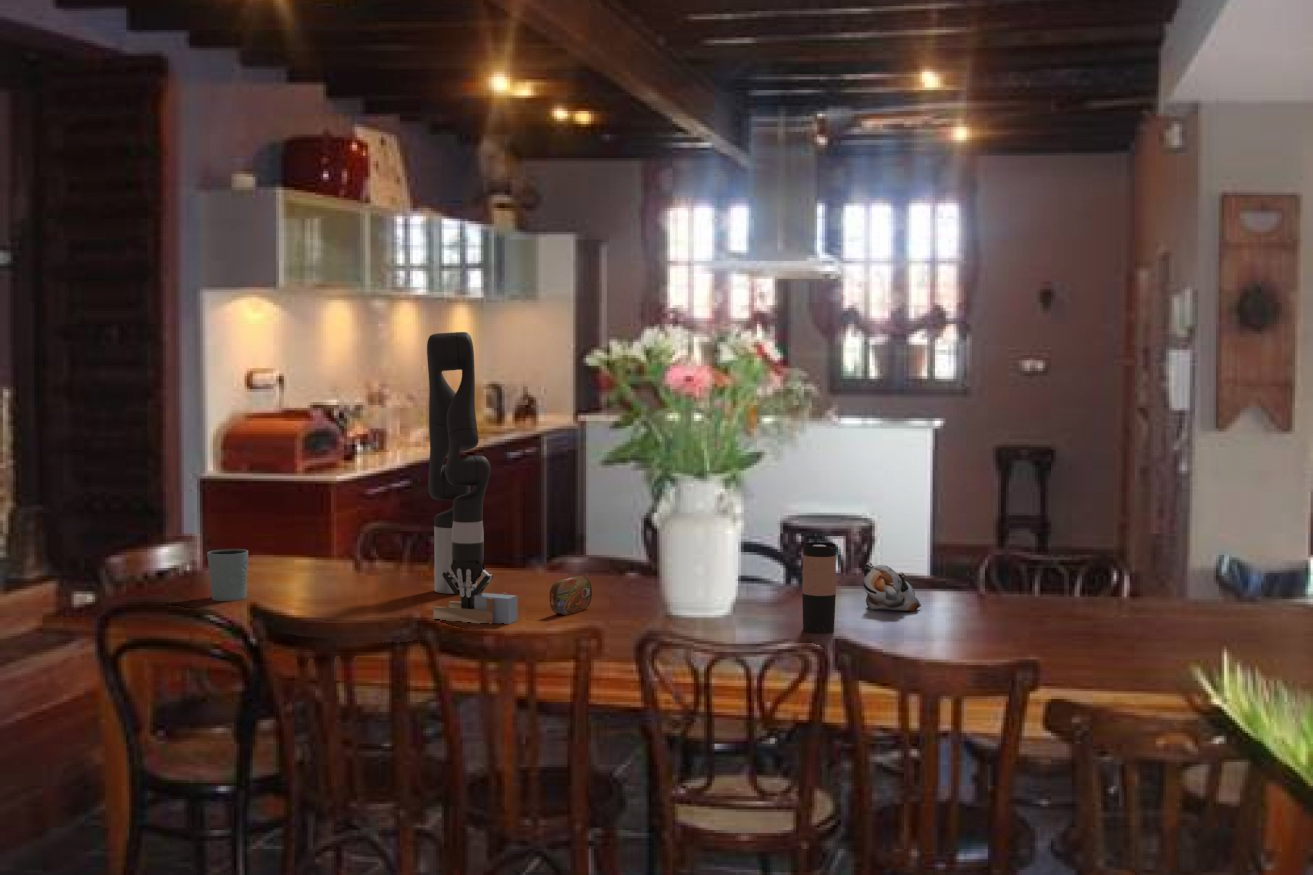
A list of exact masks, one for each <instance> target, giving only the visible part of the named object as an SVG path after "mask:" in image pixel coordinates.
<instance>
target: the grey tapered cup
mask: <svg viewBox="0 0 1313 875" xmlns="http://www.w3.org/2000/svg"><path fill="white" fill-rule="evenodd" d="M206 556H207V557H206V558H207V564H208V569H209V570H208V571H209V580H210V593H211V599H212V600H213V601H216V602H234V601H235V602H236V601H242V600H245V599H247V597H248V595H247V594H248V585H247V584H248V581H247V580H248V563H249V550H248V549H243V548H242V549H241V548H229V549H228V548H227V549H225V548H224V549H215V550H209V551H207V552H206Z"/></svg>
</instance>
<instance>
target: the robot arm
mask: <svg viewBox="0 0 1313 875" xmlns="http://www.w3.org/2000/svg"><path fill="white" fill-rule="evenodd" d="M426 355H427V356H426V358H427V371H428V382H429V384H428V386H429V398H428V400H429V403H428V404H429V405H428V430H429V433H428V434H429V464H428V465H429V466H428V476H427V477H428V480H427V481H428V484H427V486H428V492H429V496H430V497H431V498H432V499H433V500H437V501H453V502H452V507H451V508H449V509H448V510H445V511H442V512H440V513H438V514H436V515H435V516H434V518H433V519H434V520H433V523H434V524H433V530H434V531H433V532H434V535H433V536H434V540H433V541H434V546H433V547H434V549H433V550H434V552H433V554H434V593H435V592H436V593H439V594H450V595H451V594H455V595H458V596H460V602H461V608H463V609H474V603H475V596H476V595H479V594H482V593H484V591H485V589H486V588H487V587H488V585H489V584H490V582H491V581H492V580H493V579H494V575H493V573H489V572H487V570H486V566H485V564H484V556H485V555H484V553H485V552H484V549H485V546H484V544H485V542H484V541H485V540H484V537H485V536H484V534H485V531H484V523H483V522H484V519H483V518H484V517H483V516H484V515H483V514H484V510H483V509H484V500H485V499H484V498H485V494H486V490H487V487H488V484H489V480H490V476H491V464H490V461H489V460H488V459H487V458H486V457H485V456H484V455H461V454H460V453H463V452H466V451H469V450H472V449H474V448H477V446H478V444H479V440H480V439H479V431H478V424H477V415H476V398H475V397H476V384H475V383H476V378H475V352H474V344H473V340H472V337H471V335H470V333H469V332H465V331H457V332H456V331H455V332H440V333H433V334H430V335H429V337H428V339H427V342H426ZM448 371H450V372H451V371H461V380H460V384H459V386H458V388H457V391H456V392H455V391H454V389H453V388H452V387H451V386H450V384H448V382H447V380H446V379H445V377H444V375H443V373H442V372H448ZM446 458H447V459H446ZM445 460H446V464H444V462H445ZM471 486H472V489H471ZM479 579H480V581H479ZM478 581H479V583H478Z"/></svg>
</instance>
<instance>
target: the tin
mask: <svg viewBox="0 0 1313 875" xmlns="http://www.w3.org/2000/svg"><path fill="white" fill-rule="evenodd" d="M592 588H593V587H592V584H591V581H590V579H589V578H587V577H586V576H583V575H581V576H572V577H568V578H565V579H560V580H557V581H555V582H554V583H553V584H552V585H551V587H550V590H549V606H550V608H551V611H552V612H553V613H554V614H556V615H563V616H568V615H571V614H574V613H578V612H581V611H585V610H586V609H588V608H589V606H590V605H591V604H590V603H591V601H592V598H593V589H592Z"/></svg>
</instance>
